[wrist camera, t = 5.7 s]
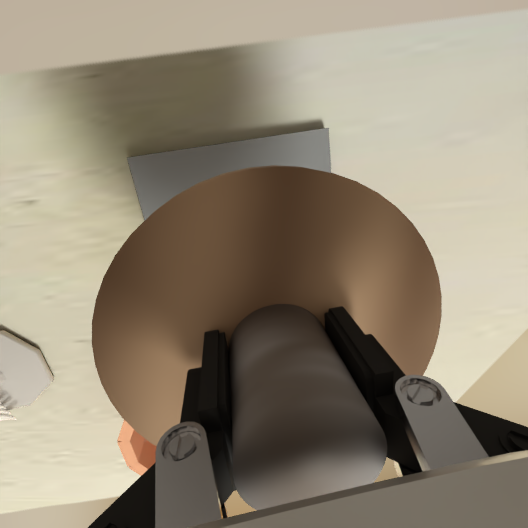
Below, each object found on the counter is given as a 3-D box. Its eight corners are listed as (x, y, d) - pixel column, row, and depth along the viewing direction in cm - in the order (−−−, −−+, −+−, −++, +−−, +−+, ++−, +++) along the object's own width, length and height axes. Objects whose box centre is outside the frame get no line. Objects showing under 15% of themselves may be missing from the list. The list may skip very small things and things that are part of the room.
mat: (324, 128, 26) (328, 127, 25) (335, 297, 32) (338, 302, 31) (130, 157, 25) (126, 157, 24) (177, 328, 30) (176, 333, 29)
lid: (435, 138, 11) (641, 127, 6) (420, 419, 16) (522, 558, 11) (43, 199, 10) (-160, 257, 5) (154, 479, 15) (117, 665, 10)
